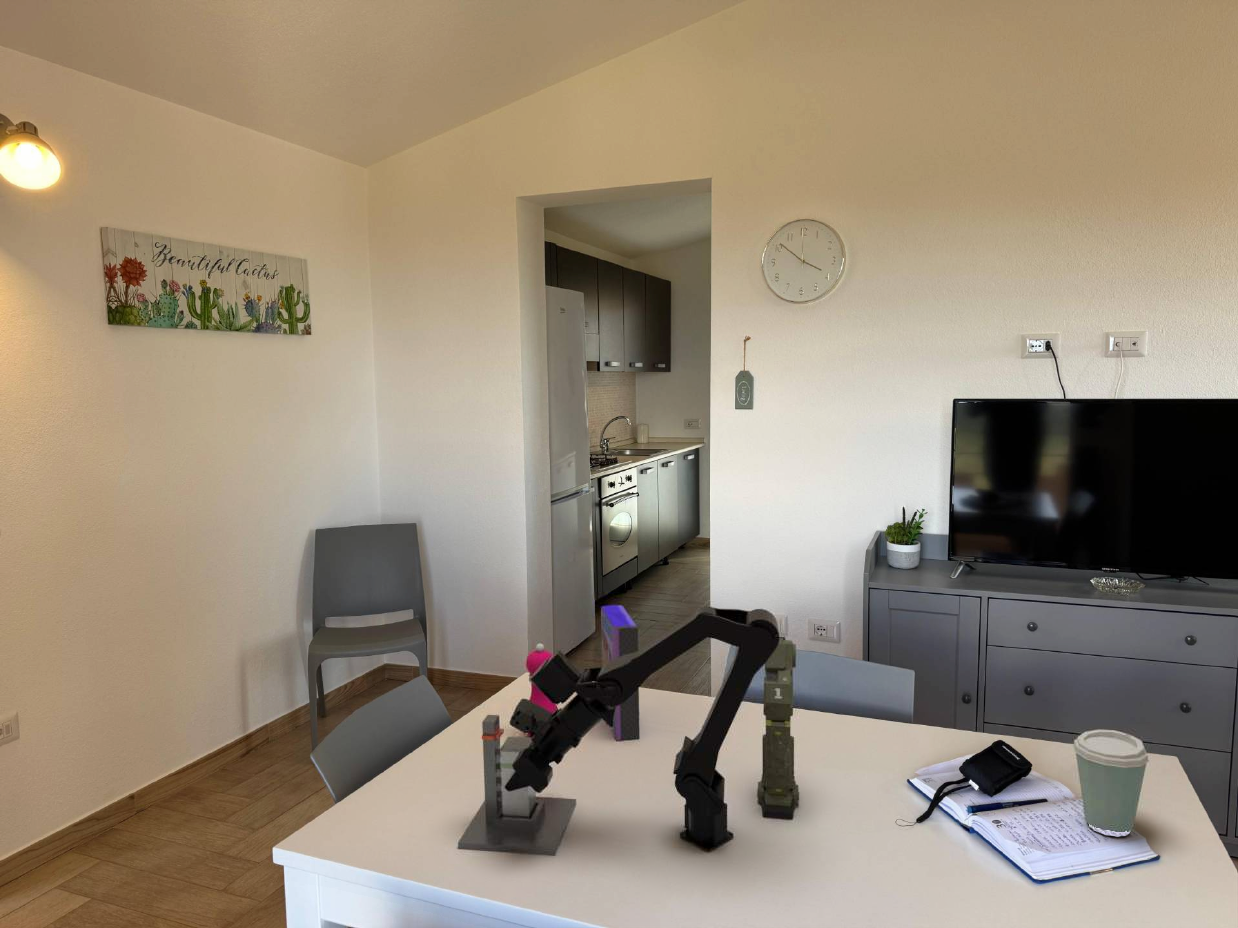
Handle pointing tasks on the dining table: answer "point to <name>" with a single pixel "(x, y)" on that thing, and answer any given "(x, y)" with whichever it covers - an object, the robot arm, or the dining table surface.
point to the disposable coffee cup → (1110, 777)
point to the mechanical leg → (778, 736)
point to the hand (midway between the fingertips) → (510, 781)
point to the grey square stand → (505, 831)
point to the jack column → (514, 801)
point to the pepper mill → (532, 665)
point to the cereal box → (616, 643)
